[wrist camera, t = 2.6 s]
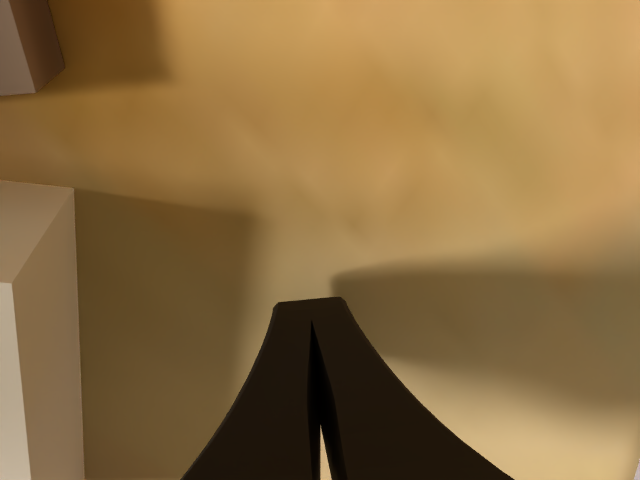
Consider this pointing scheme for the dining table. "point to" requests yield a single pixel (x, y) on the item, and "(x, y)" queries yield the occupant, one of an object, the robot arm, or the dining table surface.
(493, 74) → the dining table surface
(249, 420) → the robot arm
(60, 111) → the dining table surface
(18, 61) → the guide rails
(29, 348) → the block
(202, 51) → the dining table surface
